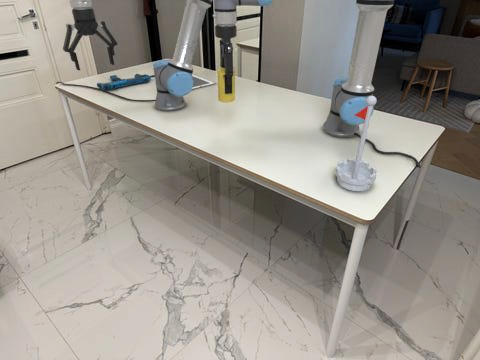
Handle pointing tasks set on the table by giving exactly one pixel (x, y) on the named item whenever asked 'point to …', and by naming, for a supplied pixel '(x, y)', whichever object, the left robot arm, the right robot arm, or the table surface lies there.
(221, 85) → the canister
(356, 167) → the flag stand
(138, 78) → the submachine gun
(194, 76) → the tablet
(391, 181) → the table surface
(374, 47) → the right robot arm
